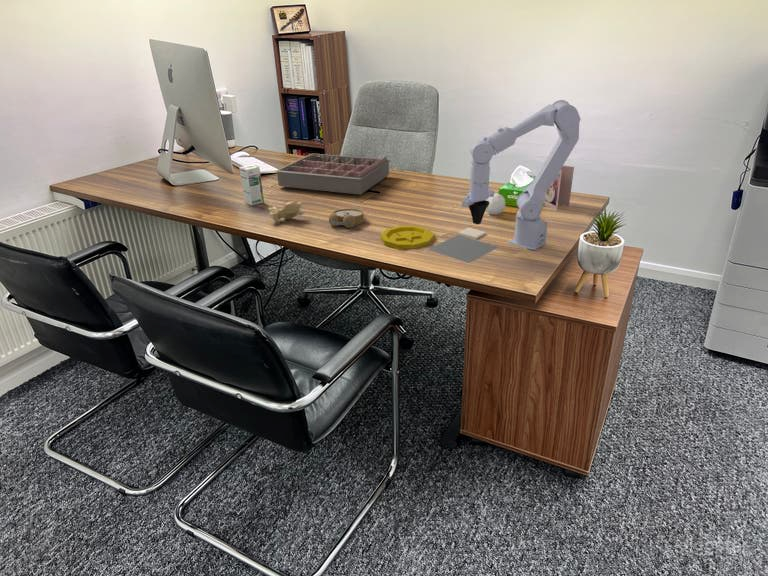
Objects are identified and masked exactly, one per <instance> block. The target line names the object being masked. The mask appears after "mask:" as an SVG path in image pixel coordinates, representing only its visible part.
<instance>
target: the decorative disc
mask: <svg viewBox="0 0 768 576" xmlns="http://www.w3.org/2000/svg"><path fill="white" fill-rule="evenodd" d="M434 239H435V234H434V233H433V232H432V231H431V229H430V228H428V227H427V228H426V227H422V226H419V225H397V226H394V227H393V226H392V227H390V228H389V227H388V228H386V229H385V230H384V231H383V232H381V234H380V240H381V242H382V243H383V245H384V246H386V247H388V248H392V249H397V250H406V249H416V248H421V247H424V246H428V245H430V243H432V242H433V240H434Z"/></svg>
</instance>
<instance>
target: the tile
mask: <svg viewBox="0 0 768 576" xmlns="http://www.w3.org/2000/svg"><path fill="white" fill-rule="evenodd" d="M486 234H487V232H486V231H483V230H481V229H480V230H479V229H476V228H472V227H469V226H468V227H466V228H464V229H462V230H460V231H458V232H457V235H460V236H463V237H467V238H470V239H474V240H477V239H479V238H481V237H483V236H486Z"/></svg>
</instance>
